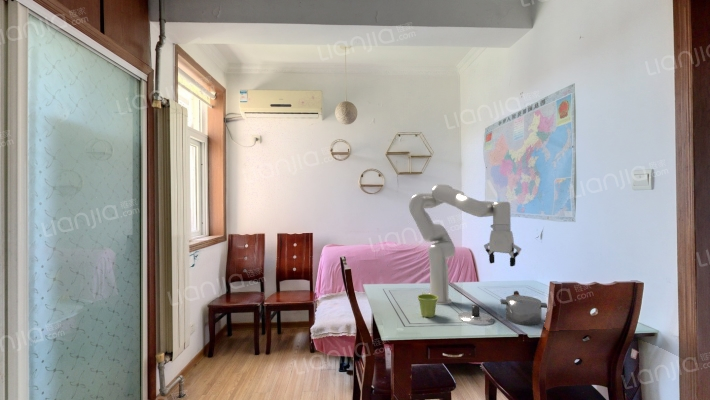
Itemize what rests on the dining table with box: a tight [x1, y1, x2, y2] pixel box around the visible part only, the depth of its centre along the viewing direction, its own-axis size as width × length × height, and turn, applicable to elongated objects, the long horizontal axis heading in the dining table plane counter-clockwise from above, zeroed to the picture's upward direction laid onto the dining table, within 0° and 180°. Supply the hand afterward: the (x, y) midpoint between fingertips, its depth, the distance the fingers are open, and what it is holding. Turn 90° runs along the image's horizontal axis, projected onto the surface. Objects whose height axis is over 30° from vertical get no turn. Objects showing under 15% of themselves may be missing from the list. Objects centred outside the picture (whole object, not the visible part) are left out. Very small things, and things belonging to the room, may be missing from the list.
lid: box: [457, 304, 495, 326], centre depth 148 cm, size 15×15×6 cm
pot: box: [500, 294, 548, 327], centre depth 146 cm, size 18×14×9 cm
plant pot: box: [417, 293, 438, 318], centre depth 154 cm, size 9×9×9 cm
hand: (502, 264), depth 154 cm, fingers open, 9 cm apart
